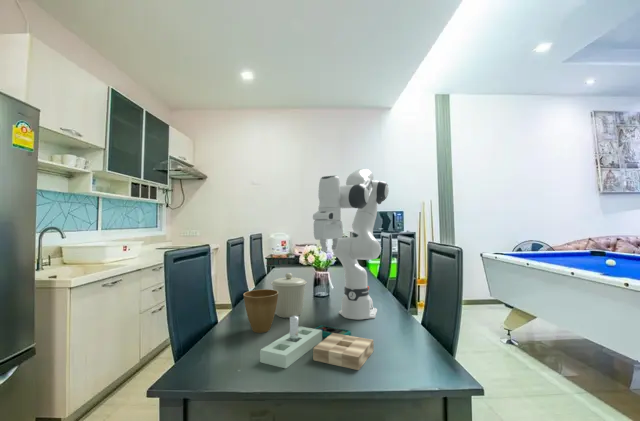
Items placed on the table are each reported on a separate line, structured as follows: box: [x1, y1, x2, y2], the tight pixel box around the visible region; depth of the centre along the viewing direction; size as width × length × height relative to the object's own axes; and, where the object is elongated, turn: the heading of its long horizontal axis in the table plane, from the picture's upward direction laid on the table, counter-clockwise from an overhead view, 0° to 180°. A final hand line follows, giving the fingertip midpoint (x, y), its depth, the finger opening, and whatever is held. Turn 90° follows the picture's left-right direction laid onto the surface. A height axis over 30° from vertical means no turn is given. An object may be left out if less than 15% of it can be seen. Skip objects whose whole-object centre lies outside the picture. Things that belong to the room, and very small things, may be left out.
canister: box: [270, 272, 307, 319], centre depth 153 cm, size 18×18×21 cm
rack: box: [259, 326, 323, 369], centre depth 109 cm, size 26×10×4 cm, turn 154°
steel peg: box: [289, 315, 299, 342], centre depth 109 cm, size 3×3×12 cm
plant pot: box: [243, 288, 278, 334], centre depth 131 cm, size 15×15×16 cm
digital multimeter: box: [314, 324, 352, 339], centre depth 124 cm, size 7×15×3 cm, turn 57°
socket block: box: [312, 333, 375, 371], centre depth 105 cm, size 16×16×4 cm
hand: (329, 250), depth 120 cm, fingers open, 8 cm apart
